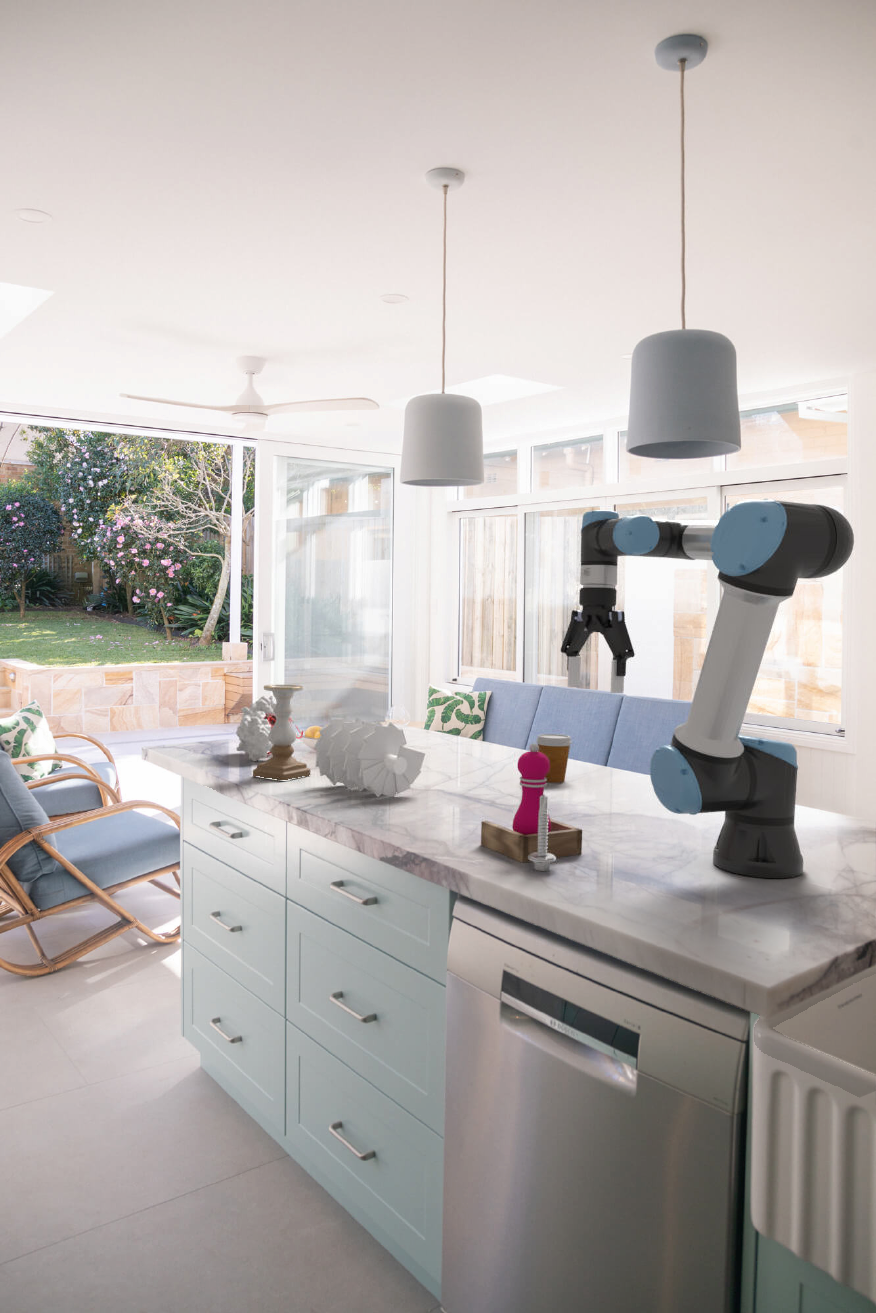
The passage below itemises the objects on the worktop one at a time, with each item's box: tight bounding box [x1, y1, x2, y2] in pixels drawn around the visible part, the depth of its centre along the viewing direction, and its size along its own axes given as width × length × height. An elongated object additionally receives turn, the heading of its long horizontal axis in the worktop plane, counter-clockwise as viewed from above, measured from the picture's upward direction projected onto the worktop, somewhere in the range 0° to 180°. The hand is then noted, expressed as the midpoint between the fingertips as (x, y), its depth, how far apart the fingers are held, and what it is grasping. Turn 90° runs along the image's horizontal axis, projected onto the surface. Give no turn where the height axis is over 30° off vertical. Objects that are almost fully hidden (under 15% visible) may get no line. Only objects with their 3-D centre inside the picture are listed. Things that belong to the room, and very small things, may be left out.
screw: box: [528, 794, 557, 872], centre depth 153 cm, size 13×5×5 cm
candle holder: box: [252, 684, 311, 780], centre depth 233 cm, size 11×11×24 cm
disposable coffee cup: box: [535, 733, 573, 784], centre depth 237 cm, size 10×10×12 cm
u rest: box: [480, 818, 583, 864], centre depth 166 cm, size 13×13×4 cm
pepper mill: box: [511, 742, 551, 835], centre depth 165 cm, size 7×7×20 cm
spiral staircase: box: [313, 714, 426, 798], centre depth 217 cm, size 18×18×25 cm
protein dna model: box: [235, 695, 304, 762], centre depth 264 cm, size 20×18×25 cm
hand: (594, 690), depth 184 cm, fingers open, 13 cm apart
